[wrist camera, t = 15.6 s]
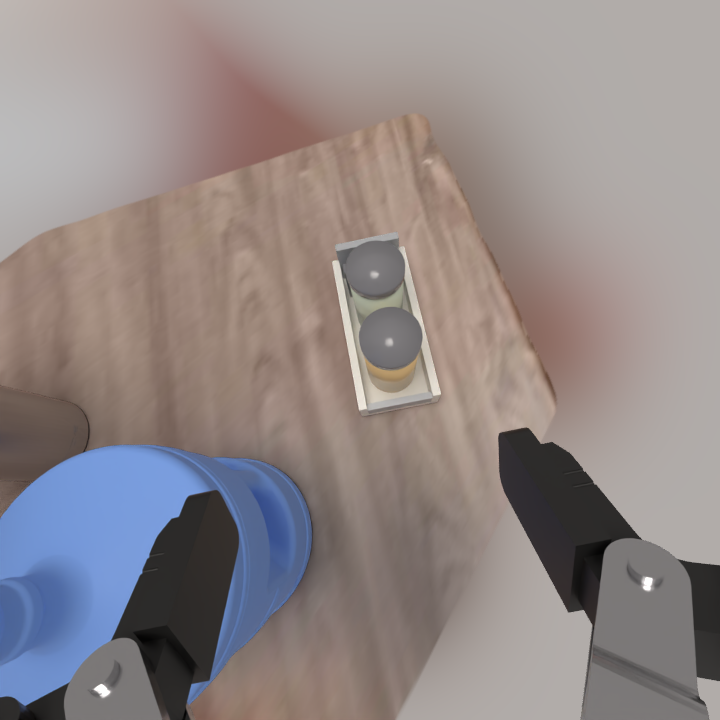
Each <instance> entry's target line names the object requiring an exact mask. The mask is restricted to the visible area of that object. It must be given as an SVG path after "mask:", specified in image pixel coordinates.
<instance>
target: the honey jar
mask: <svg viewBox="0 0 720 720" xmlns="http://www.w3.org/2000/svg"><path fill="white" fill-rule="evenodd" d="M422 339H423V334H422V329H421V326H420V324H419V322H418V320H417V319H416V318H415V317H414V316H413V315H412V314H411V313H410V312H408V311H406V310H404V309H401V308H397V307H385V308H381V309H378V310H376V311H374V312H372V313H371V314H370V315H368V316H367V317H366V319H365V320H364V321H363V323H362V325H361V327H360V331H359V343H360V347H361V351H362V353H363V355H364V359H365V363H366V367H367V371H368V375H369V378H370V380H371V382H372V384H373V385H374V386H375V387H376V388H378V389H379V390H381V391H384V392H387V393H395V392H399V391H402V390H403V389H405V388H406V387H408V386H409V384H410V383H411V382H412V380H413V377H414V373H415V369H416V364H417V359H418V354H419V352H420V349H421V345H422Z"/></svg>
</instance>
